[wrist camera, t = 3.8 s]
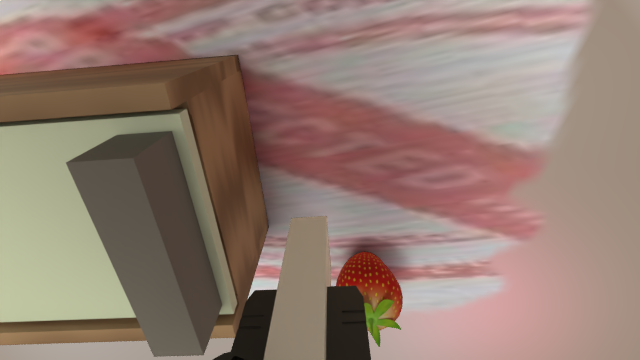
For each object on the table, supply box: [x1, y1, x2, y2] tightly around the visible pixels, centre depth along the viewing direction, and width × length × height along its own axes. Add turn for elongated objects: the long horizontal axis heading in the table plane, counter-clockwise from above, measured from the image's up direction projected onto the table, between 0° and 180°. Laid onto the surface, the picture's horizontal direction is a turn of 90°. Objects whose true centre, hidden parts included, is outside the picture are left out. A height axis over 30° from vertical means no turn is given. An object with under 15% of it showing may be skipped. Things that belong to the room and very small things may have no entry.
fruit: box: [336, 252, 403, 347], centre depth 26 cm, size 5×5×8 cm
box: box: [0, 55, 269, 345], centre depth 21 cm, size 14×18×11 cm
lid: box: [0, 109, 237, 357], centre depth 15 cm, size 11×18×4 cm, turn 95°
